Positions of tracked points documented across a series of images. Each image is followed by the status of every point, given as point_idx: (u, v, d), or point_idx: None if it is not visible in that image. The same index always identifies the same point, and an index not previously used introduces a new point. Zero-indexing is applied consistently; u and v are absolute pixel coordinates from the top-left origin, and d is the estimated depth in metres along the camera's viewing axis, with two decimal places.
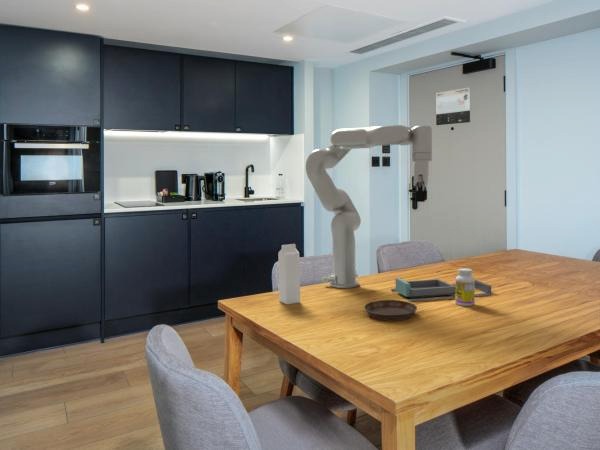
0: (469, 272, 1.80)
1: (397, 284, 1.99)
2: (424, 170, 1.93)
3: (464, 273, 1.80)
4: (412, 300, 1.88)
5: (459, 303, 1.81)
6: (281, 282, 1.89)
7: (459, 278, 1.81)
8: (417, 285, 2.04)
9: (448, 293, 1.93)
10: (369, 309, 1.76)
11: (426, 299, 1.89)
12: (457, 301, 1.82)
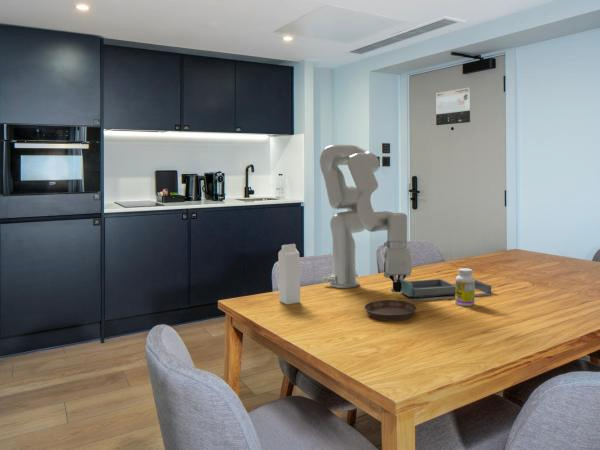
0: (469, 272, 1.80)
1: None
2: None
3: (464, 273, 1.80)
4: (412, 300, 1.88)
5: (459, 303, 1.81)
6: (281, 282, 1.89)
7: (459, 278, 1.81)
8: (420, 285, 2.04)
9: (451, 293, 1.93)
10: (369, 309, 1.76)
11: (426, 299, 1.89)
12: (457, 301, 1.82)
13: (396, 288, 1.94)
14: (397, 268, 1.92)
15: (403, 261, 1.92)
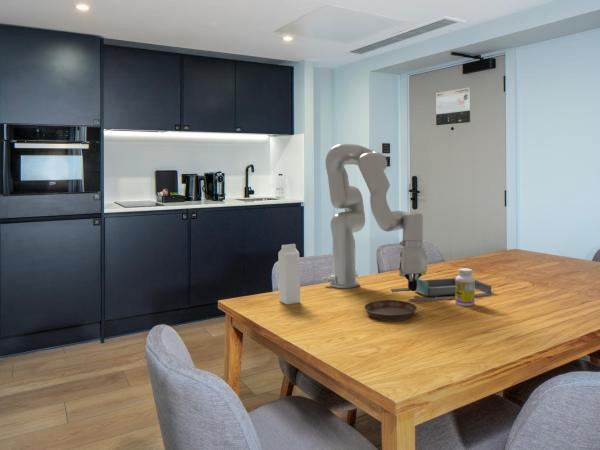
0: (469, 272, 1.80)
1: None
2: None
3: (464, 273, 1.80)
4: (412, 300, 1.88)
5: (459, 303, 1.81)
6: (281, 282, 1.89)
7: (459, 278, 1.81)
8: (434, 284, 2.05)
9: None
10: (369, 309, 1.76)
11: (426, 299, 1.89)
12: (457, 301, 1.82)
13: (411, 287, 1.95)
14: (413, 267, 1.93)
15: (419, 260, 1.93)
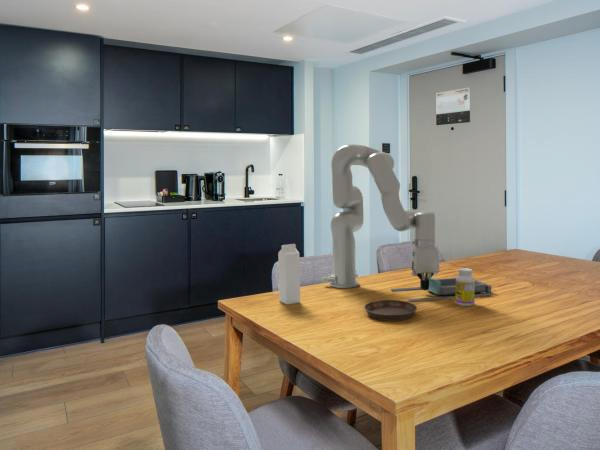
0: (469, 272, 1.80)
1: None
2: None
3: (464, 273, 1.80)
4: (412, 300, 1.88)
5: (459, 303, 1.81)
6: (281, 282, 1.89)
7: (459, 278, 1.81)
8: (446, 283, 2.07)
9: (478, 291, 1.95)
10: (369, 309, 1.76)
11: (426, 299, 1.89)
12: (457, 301, 1.82)
13: (424, 286, 1.97)
14: (425, 266, 1.94)
15: (431, 260, 1.94)
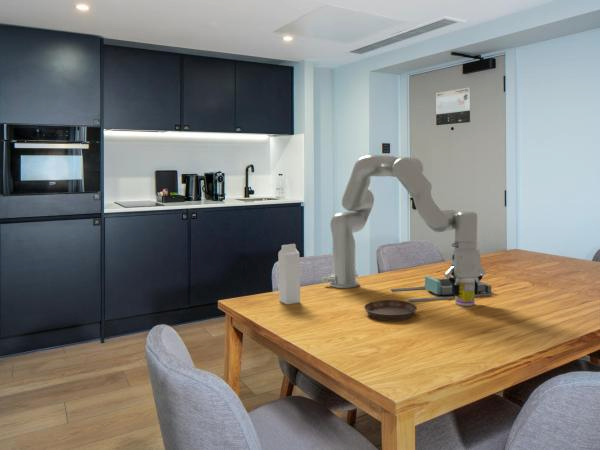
0: None
1: (426, 282, 2.02)
2: None
3: None
4: (412, 300, 1.88)
5: (459, 303, 1.81)
6: (281, 282, 1.89)
7: None
8: (446, 283, 2.07)
9: (478, 291, 1.95)
10: (369, 309, 1.76)
11: (426, 299, 1.89)
12: (457, 301, 1.82)
13: (456, 291, 1.81)
14: (466, 271, 1.79)
15: (473, 263, 1.79)
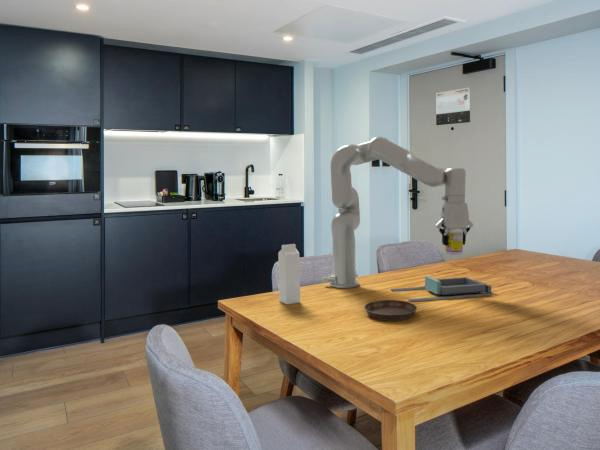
0: None
1: (426, 282, 2.02)
2: None
3: None
4: (412, 300, 1.88)
5: (448, 252, 1.97)
6: (281, 282, 1.89)
7: None
8: (446, 283, 2.07)
9: (478, 291, 1.95)
10: (369, 309, 1.76)
11: (426, 299, 1.89)
12: (446, 250, 1.98)
13: (446, 241, 1.97)
14: (455, 222, 1.95)
15: (461, 215, 1.95)
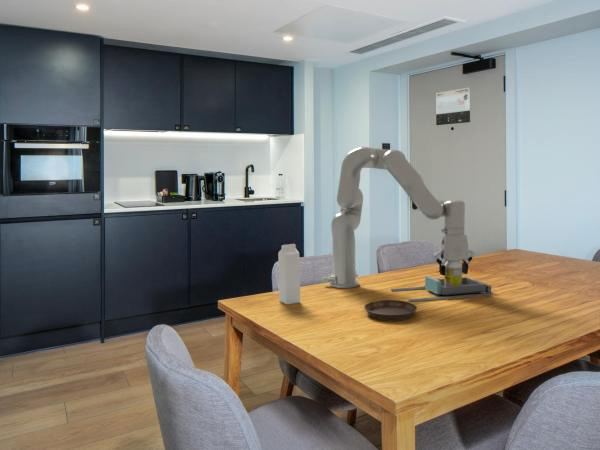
0: None
1: (426, 282, 2.02)
2: None
3: None
4: (412, 300, 1.88)
5: None
6: (281, 282, 1.89)
7: (448, 264, 1.98)
8: None
9: (478, 291, 1.95)
10: (369, 309, 1.76)
11: (426, 299, 1.89)
12: (446, 285, 1.99)
13: (443, 271, 1.98)
14: (455, 254, 1.96)
15: (461, 247, 1.96)
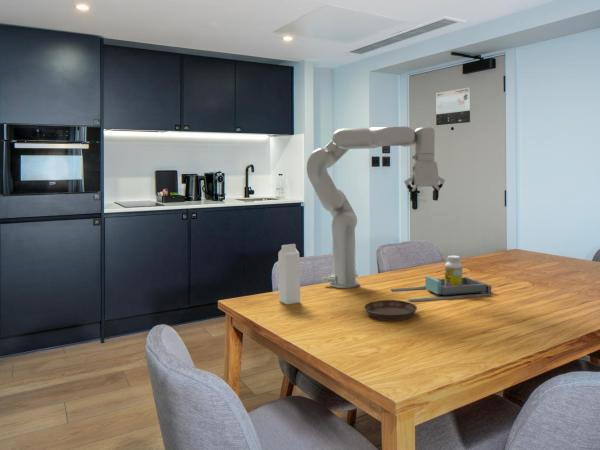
0: (457, 259, 1.97)
1: (427, 282, 2.02)
2: None
3: (453, 260, 1.97)
4: (412, 300, 1.88)
5: None
6: (281, 282, 1.89)
7: (448, 264, 1.98)
8: None
9: (478, 291, 1.95)
10: (369, 309, 1.76)
11: (426, 299, 1.89)
12: (446, 285, 1.99)
13: (413, 197, 2.03)
14: (425, 180, 2.01)
15: (431, 173, 2.01)
